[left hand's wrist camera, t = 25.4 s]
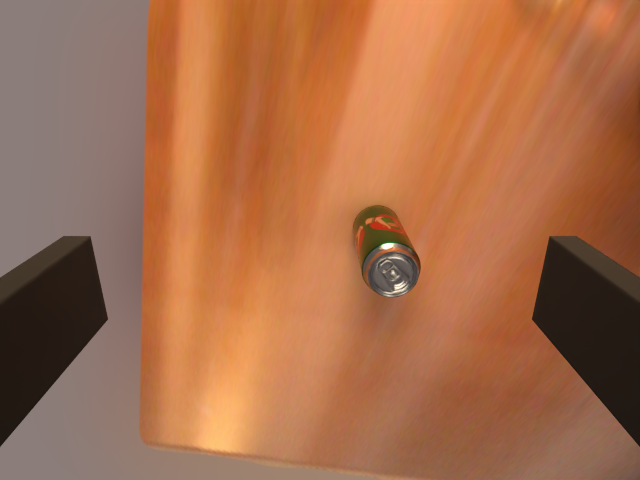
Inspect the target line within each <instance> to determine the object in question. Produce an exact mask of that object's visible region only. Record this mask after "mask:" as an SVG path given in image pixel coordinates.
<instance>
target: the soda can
mask: <svg viewBox="0 0 640 480" xmlns="http://www.w3.org/2000/svg"><path fill="white" fill-rule="evenodd" d="M353 232H354V237H355V242H356V247H357V252H358V257H359V262H360V267H361V272H362V276H363V279H364V281H365V283H366V284H367V286H368V287H369V288H370V289H372V290H373V291H375V292H376V293H378V294H380V295H382V296H385V297H398V296H402V295H404V294H406V293H407V292H409V291H410V290H411V289H412V288H413V287H414V286H415V284H416V282H417V280H418V277H419V274H420V269H421V265H420V260H419V257H418V255H417V253H416V251H415V249H414V247H413V245H412V244H411V242H410V240H409V238H408V236H407V234H406V232H405V230H404V228H403V226H402V224H401V223H400V221H399V219H398V217H397V215H396V214H395V213H394V212H393V211H392V210H391V209H389V208H387V207H384V206H371V207H368V208H366V209H364V210H363V211H362V212H360V213H359V215H358V216H357V217H356V219H355V221H354V225H353Z"/></svg>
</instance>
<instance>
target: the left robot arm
mask: <svg viewBox="0 0 640 480" xmlns="http://www.w3.org/2000/svg"><path fill="white" fill-rule="evenodd" d="M107 320H108V317H107V312H106V308H105V303H104V298H103V293H102V289H101V284H100V279H99V275H98V270H97V265H96V260H95V256H94V251H93V246H92V241H91V237H90V236H63V237H62V238H60V239H59V240H57V241H56V242H54V243H52V244H51V245H50V246H48V247H46V248H45V249H43V250H42V251H40V252H39V253H37V254H36V255H34V256H33V257H31V258H30V259H28V260H27V261H25V262H23V263H22V264H20V265H19V266H17V267H16V268H14V269H13V270H11V271H10V272H8V273H7V274H5V275H4V276H2V277H1V278H0V446H1V445H2V444H3V443H4V442H5V440H6V439H7V438H8V437H9V436H10V435H11V433H12V432H13V431H14V430H15V429H16V427H17V426H18V425H19V424H20V423H21V422H22V420H23V419H24V418H25V417H26V416H27V414H28V413H29V412H30V411H31V410H32V409H33V407H34V406H35V405H36V404H37V403H38V401H39V400H40V399H41V398H42V397H43V396H44V394H45V393H46V392H47V391H48V390H49V388H50V387H51V386H52V385H53V384H54V382H55V381H56V380H57V379H58V378H59V377H60V375H61V374H62V373H63V372H64V371H65V369H66V368H67V367H68V366H69V365H70V364H71V362H72V361H73V360H74V359H75V358H76V356H77V355H78V354H79V353H80V352H81V351H82V349H83V348H84V347H85V346H86V345H87V343H88V342H89V341H90V340H91V339H92V338H93V336H94V335H95V334H96V333H97V332H98V330H99V329H100V328H101V327H102V326H103V324H104V323H105V322H106V321H107ZM532 320H533V321H534V322H535V323H536V325H537V326H538V327H539V328H540V329H541V330H542V332H543V333H544V334H545V335H546V336H547V338H548V339H549V340H550V341H551V342H552V344H553V345H554V346H555V347H556V348H557V349H558V351H559V352H560V353H561V354H562V355H563V357H564V358H565V359H566V360H567V361H568V362H569V364H570V365H571V366H572V367H573V368H574V370H575V371H576V372H577V373H578V374H579V375H580V377H581V378H582V379H583V380H584V381H585V383H586V384H587V385H588V386H589V387H590V388H591V390H592V391H593V392H594V393H595V394H596V396H597V397H598V398H599V399H600V400H601V401H602V403H603V404H604V405H605V406H606V407H607V409H608V410H609V411H610V412H611V413H612V414H613V416H614V417H615V418H616V419H617V420H618V422H619V423H620V424H621V425H622V426H623V427H624V429H625V430H626V431H627V432H628V433H629V435H630V436H631V437H632V438H633V439H634V440H635V442H636V443H637V444H638V445H639V446H640V278H639V277H638V276H636V275H635V274H633V273H632V272H630V271H629V270H627V269H626V268H624V267H623V266H621V265H620V264H618V263H617V262H615V261H613V260H612V259H610V258H609V257H607V256H606V255H604V254H603V253H601V252H600V251H598V250H597V249H595V248H594V247H592V246H591V245H589V244H588V243H586V242H584V241H583V240H581V239H580V238H578V237H577V236H550V237H549V241H548V246H547V251H546V256H545V260H544V265H543V270H542V274H541V279H540V284H539V289H538V293H537V298H536V303H535V308H534V312H533V317H532Z"/></svg>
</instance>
